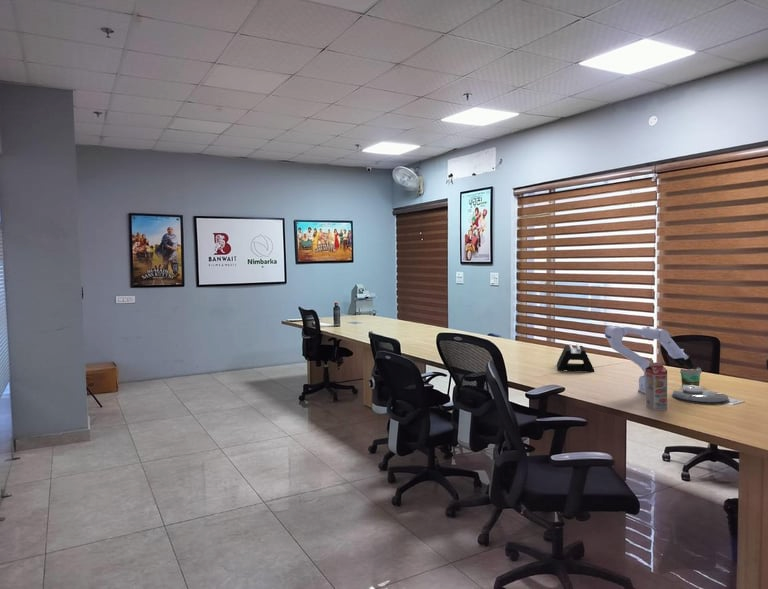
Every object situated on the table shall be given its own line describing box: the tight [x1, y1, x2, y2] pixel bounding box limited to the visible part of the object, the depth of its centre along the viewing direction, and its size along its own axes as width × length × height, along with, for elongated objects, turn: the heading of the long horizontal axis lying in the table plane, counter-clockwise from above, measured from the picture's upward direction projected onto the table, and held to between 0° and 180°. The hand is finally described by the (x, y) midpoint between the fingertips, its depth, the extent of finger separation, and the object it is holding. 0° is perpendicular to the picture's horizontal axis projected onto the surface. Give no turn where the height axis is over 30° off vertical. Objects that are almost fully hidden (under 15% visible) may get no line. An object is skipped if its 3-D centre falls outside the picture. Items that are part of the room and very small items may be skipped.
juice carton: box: [645, 361, 668, 411], centre depth 250 cm, size 7×7×22 cm
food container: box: [679, 367, 703, 388], centre depth 291 cm, size 12×6×10 cm, turn 105°
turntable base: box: [671, 393, 730, 406], centre depth 267 cm, size 25×25×1 cm
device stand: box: [556, 343, 595, 373], centre depth 352 cm, size 22×22×15 cm
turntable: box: [672, 388, 729, 403], centre depth 267 cm, size 24×24×1 cm
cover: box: [682, 385, 704, 394], centre depth 273 cm, size 9×9×3 cm
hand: (687, 366), depth 282 cm, fingers open, 7 cm apart
